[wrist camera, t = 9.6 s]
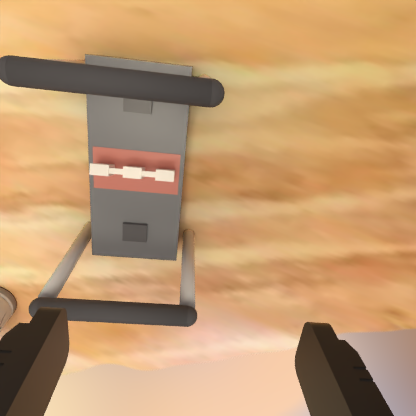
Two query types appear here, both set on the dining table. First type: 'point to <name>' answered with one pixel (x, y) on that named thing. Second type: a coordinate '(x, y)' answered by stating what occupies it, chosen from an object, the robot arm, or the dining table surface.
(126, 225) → the pdu
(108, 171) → the breaker paddles
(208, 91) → the dark grey rounded rod
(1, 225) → the dining table surface
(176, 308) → the dark grey rod
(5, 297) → the travel mug
